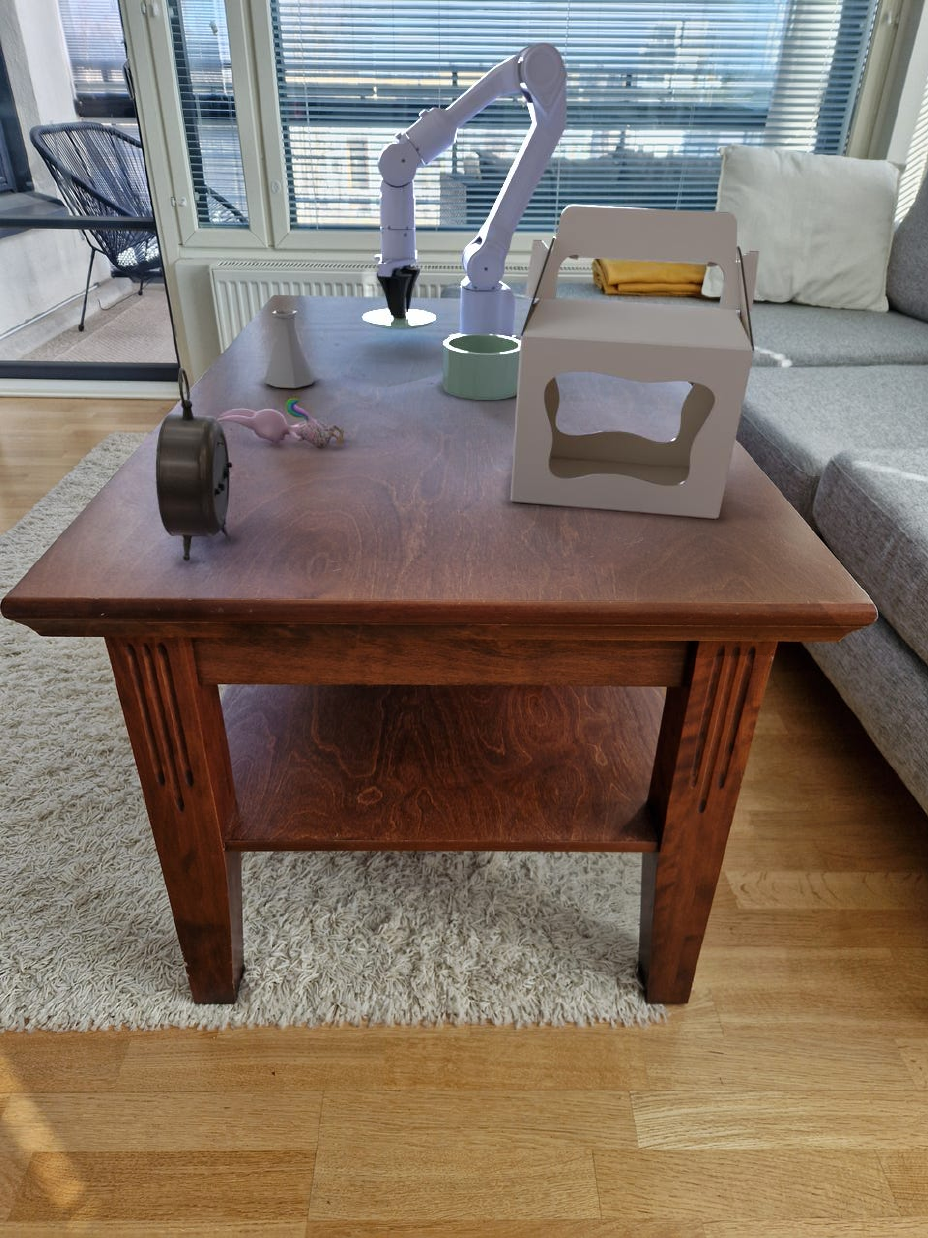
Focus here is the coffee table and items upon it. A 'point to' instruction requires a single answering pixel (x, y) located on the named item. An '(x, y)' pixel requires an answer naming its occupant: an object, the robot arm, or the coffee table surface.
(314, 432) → the rabbit figure
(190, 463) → the alarm clock
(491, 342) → the jar
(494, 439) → the coffee table surface
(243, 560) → the coffee table surface
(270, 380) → the flask
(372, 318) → the lid
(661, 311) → the gable box
